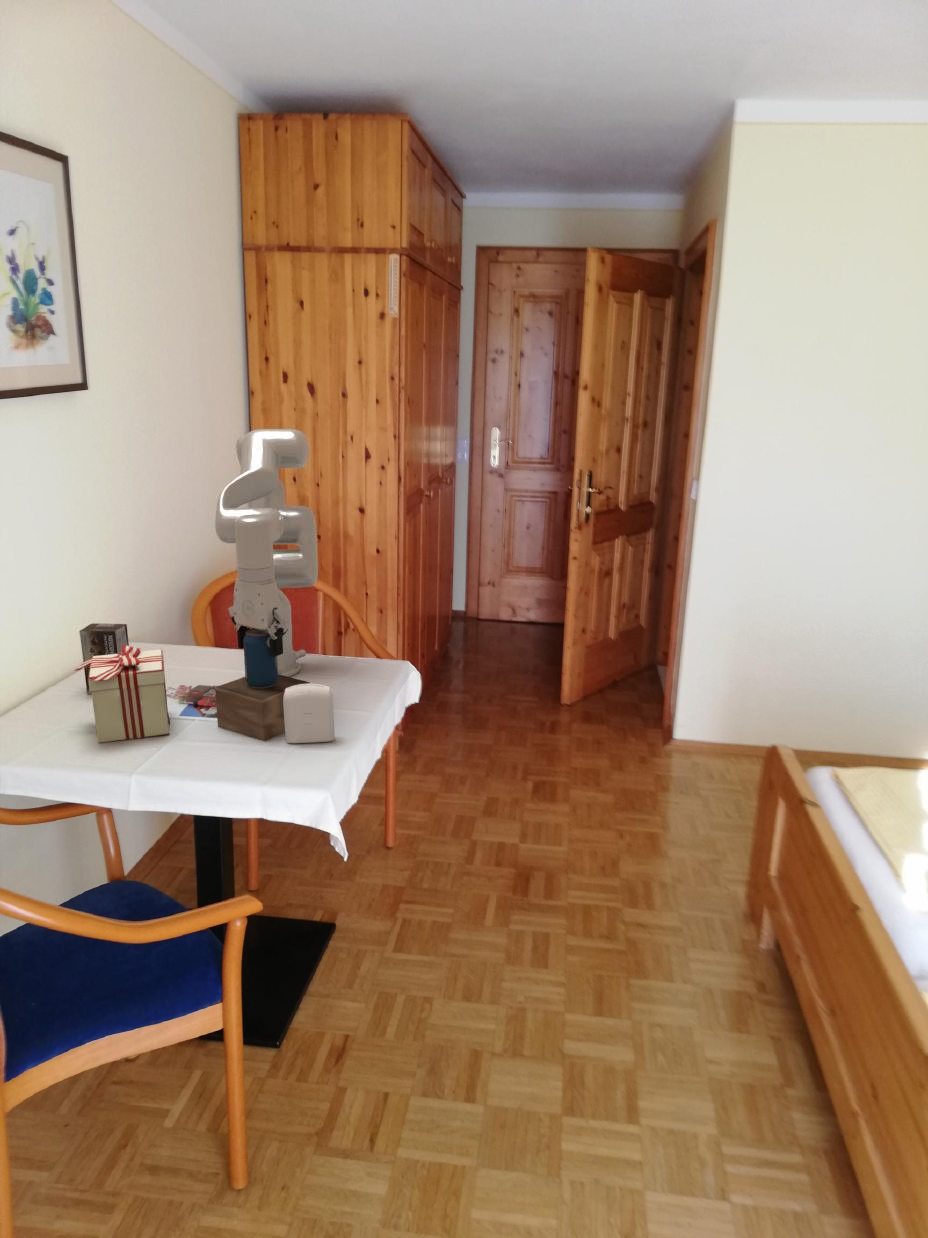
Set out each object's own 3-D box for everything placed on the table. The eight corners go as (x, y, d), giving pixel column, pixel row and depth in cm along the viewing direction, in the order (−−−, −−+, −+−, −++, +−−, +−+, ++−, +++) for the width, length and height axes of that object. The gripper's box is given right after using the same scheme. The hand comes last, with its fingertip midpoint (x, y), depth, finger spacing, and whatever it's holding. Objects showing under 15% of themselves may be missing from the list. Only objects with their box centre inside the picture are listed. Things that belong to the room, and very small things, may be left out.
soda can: (285, 684, 202) (282, 630, 199) (258, 691, 197) (255, 637, 194) (265, 676, 206) (262, 624, 203) (239, 684, 201) (236, 631, 198)
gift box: (80, 722, 204) (71, 647, 200) (167, 710, 212) (161, 637, 207) (82, 750, 189) (73, 670, 185) (176, 737, 196) (170, 659, 192)
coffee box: (134, 687, 226) (128, 623, 222) (122, 696, 220) (115, 630, 216) (98, 686, 227) (91, 622, 223) (85, 695, 221) (78, 629, 217)
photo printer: (284, 745, 192) (281, 688, 189) (286, 737, 196) (283, 681, 193) (334, 743, 193) (332, 687, 190) (335, 735, 197) (333, 680, 194)
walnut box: (265, 707, 213) (263, 670, 211) (311, 720, 206) (309, 682, 203) (216, 726, 202) (213, 687, 199) (263, 741, 194) (261, 700, 192)
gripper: (214, 571, 197) (219, 648, 202) (272, 583, 187) (277, 663, 192) (240, 564, 203) (245, 639, 208) (298, 576, 193) (302, 654, 198)
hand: (260, 651), depth 200 cm, fingers open, 9 cm apart
